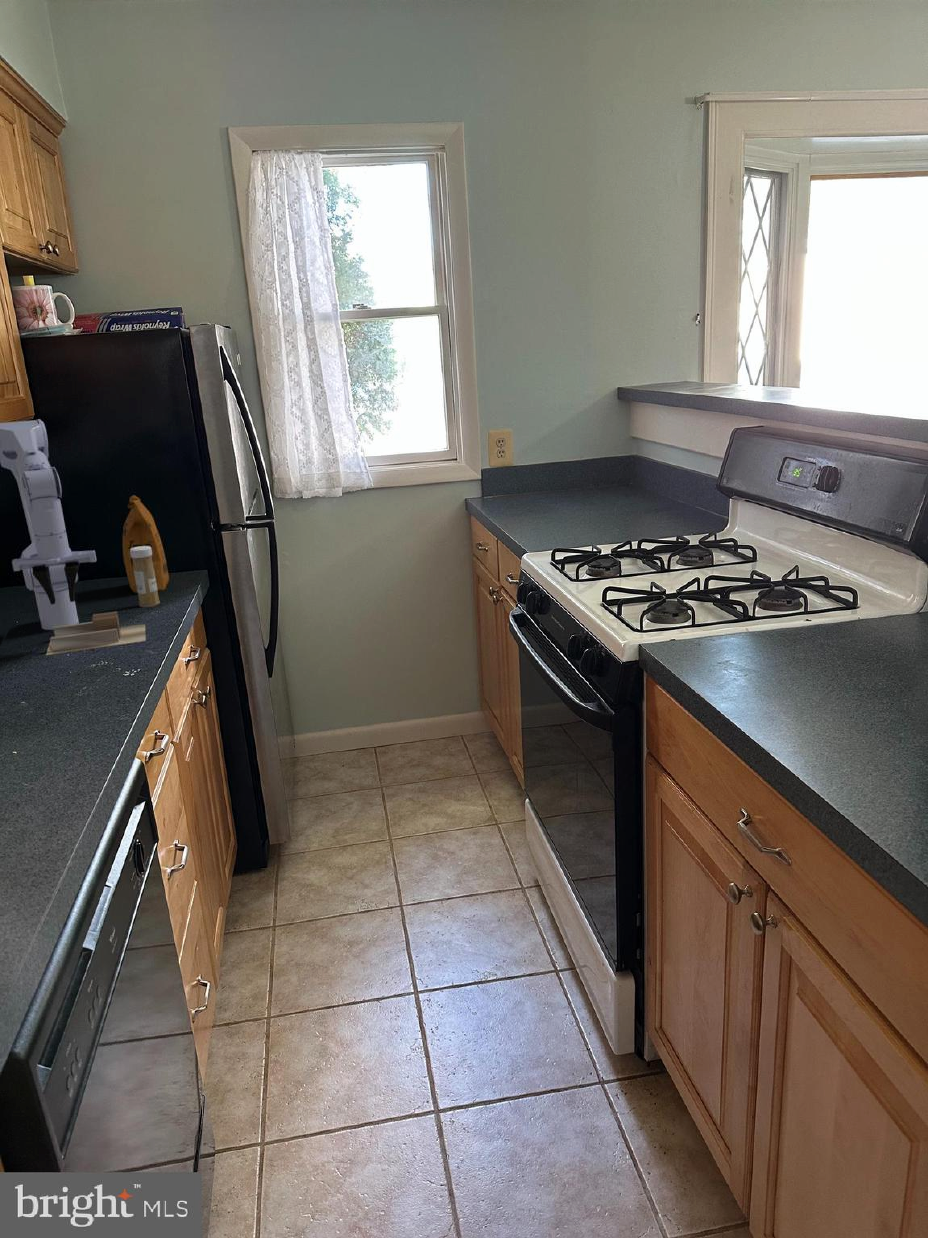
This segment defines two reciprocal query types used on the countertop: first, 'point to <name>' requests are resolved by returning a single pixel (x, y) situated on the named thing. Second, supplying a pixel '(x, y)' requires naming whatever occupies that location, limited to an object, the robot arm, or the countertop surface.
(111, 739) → the countertop surface
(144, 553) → the sprinkles bottle
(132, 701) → the countertop surface
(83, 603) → the countertop surface
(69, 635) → the frame
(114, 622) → the walnut block
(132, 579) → the coffee package
